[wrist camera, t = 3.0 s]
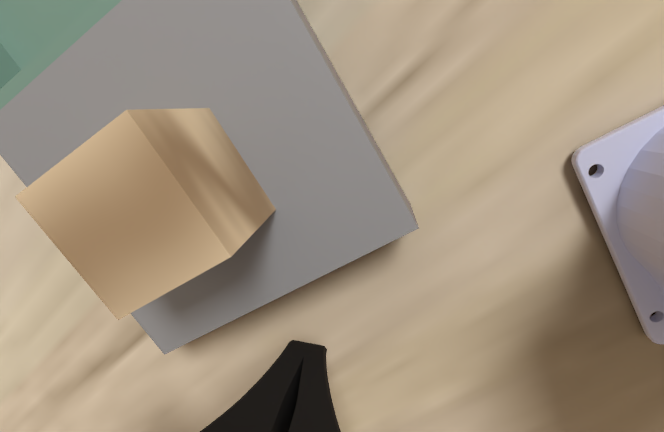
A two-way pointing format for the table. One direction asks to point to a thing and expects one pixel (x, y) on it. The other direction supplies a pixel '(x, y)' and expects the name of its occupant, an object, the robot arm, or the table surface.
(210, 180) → the maple block
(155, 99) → the slate plate
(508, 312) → the table surface
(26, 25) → the box
